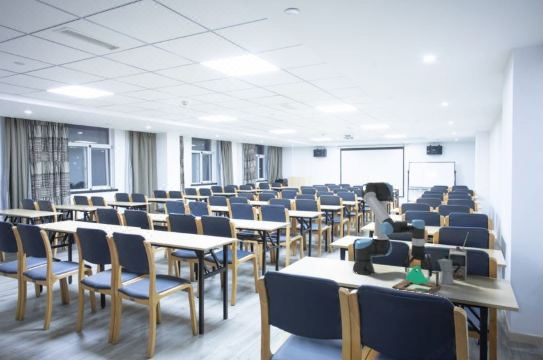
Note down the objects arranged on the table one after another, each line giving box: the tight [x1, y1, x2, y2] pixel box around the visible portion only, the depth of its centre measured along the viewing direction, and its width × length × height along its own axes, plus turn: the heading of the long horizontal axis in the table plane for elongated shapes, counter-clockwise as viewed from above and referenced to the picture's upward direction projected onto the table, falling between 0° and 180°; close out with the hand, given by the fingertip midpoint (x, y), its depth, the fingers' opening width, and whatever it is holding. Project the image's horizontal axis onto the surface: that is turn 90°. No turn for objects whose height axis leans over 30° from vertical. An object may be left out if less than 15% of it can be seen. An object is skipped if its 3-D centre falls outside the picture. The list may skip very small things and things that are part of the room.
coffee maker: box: [436, 254, 461, 285], centre depth 236 cm, size 15×9×18 cm, turn 45°
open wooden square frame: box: [391, 271, 441, 295], centre depth 226 cm, size 22×21×10 cm
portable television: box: [448, 231, 469, 281], centre depth 250 cm, size 12×24×30 cm, turn 152°
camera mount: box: [405, 265, 429, 285], centre depth 225 cm, size 12×8×10 cm, turn 50°
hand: (418, 279), depth 225 cm, fingers closed on camera mount, 12 cm apart
